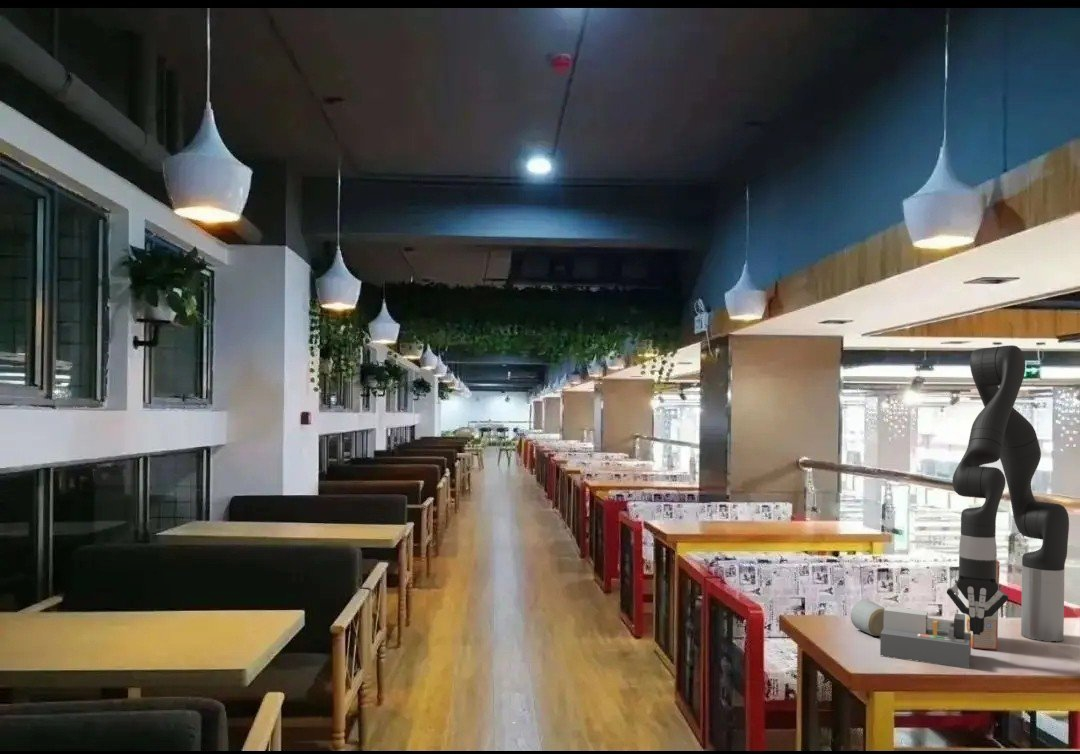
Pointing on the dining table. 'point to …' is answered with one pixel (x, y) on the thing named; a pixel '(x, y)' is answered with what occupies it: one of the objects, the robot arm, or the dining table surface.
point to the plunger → (949, 625)
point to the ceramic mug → (868, 617)
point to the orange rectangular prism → (934, 628)
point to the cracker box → (990, 623)
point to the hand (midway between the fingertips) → (976, 633)
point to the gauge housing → (921, 639)
